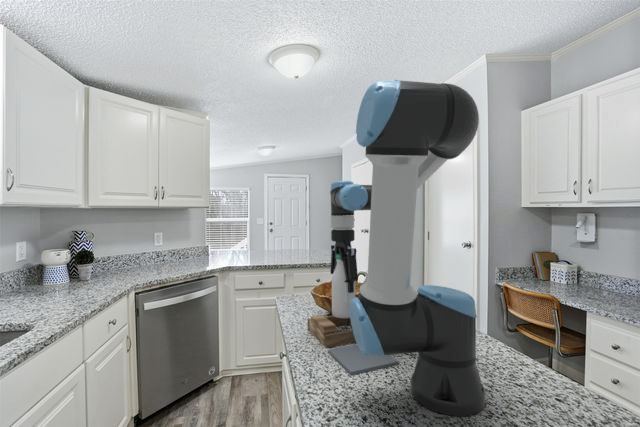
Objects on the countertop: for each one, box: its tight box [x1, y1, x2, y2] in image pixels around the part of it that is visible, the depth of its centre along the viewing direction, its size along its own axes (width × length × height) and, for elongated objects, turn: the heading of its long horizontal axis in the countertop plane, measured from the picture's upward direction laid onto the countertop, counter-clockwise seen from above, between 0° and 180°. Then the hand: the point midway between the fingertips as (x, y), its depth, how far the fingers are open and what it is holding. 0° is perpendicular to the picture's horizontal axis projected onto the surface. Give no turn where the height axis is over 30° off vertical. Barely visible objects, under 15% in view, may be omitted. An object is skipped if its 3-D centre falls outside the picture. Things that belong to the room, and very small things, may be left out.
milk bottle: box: [331, 254, 357, 318], centre depth 108 cm, size 8×8×20 cm
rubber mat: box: [327, 343, 400, 376], centre depth 91 cm, size 14×14×1 cm
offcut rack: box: [307, 314, 356, 349], centre depth 108 cm, size 16×16×8 cm
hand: (343, 299), depth 108 cm, fingers closed on milk bottle, 8 cm apart
